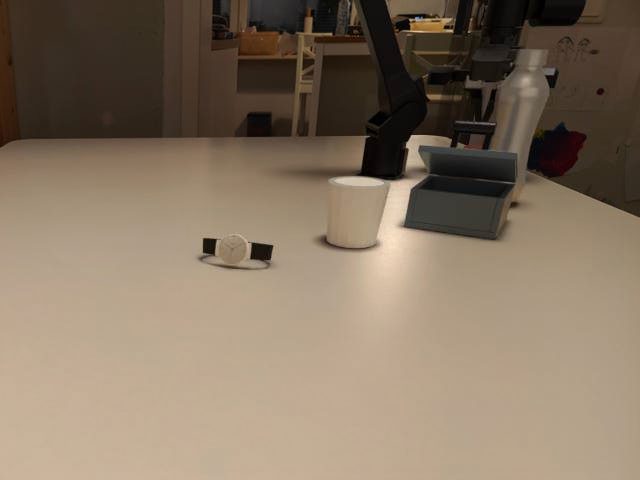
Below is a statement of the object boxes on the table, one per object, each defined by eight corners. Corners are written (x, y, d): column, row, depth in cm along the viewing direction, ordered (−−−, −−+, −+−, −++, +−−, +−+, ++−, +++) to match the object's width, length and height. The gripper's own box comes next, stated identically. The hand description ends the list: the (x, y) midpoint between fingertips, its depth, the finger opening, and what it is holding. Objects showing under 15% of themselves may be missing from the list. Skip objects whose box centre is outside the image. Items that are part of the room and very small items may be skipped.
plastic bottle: (508, 197, 92) (546, 48, 83) (527, 208, 87) (571, 49, 77) (464, 196, 93) (497, 49, 84) (480, 207, 87) (517, 49, 78)
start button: (482, 160, 103) (485, 149, 102) (459, 158, 105) (462, 147, 104) (486, 156, 106) (488, 146, 105) (463, 155, 108) (466, 144, 107)
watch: (195, 263, 66) (196, 230, 64) (209, 251, 70) (210, 219, 68) (266, 272, 63) (269, 238, 62) (276, 258, 67) (279, 226, 66)
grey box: (494, 239, 73) (505, 199, 71) (403, 226, 79) (410, 188, 76) (506, 220, 81) (515, 183, 79) (422, 209, 86) (429, 174, 84)
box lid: (515, 159, 69) (527, 118, 69) (417, 151, 74) (427, 113, 74) (515, 183, 79) (526, 147, 78) (429, 174, 84) (438, 141, 83)
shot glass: (384, 236, 75) (394, 177, 71) (376, 252, 69) (387, 189, 66) (327, 230, 77) (334, 173, 74) (315, 245, 72) (322, 184, 68)
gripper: (428, 28, 95) (410, 134, 102) (569, 26, 86) (537, 143, 93) (443, 28, 103) (425, 127, 110) (573, 27, 94) (544, 134, 101)
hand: (479, 132), depth 103 cm, fingers closed
